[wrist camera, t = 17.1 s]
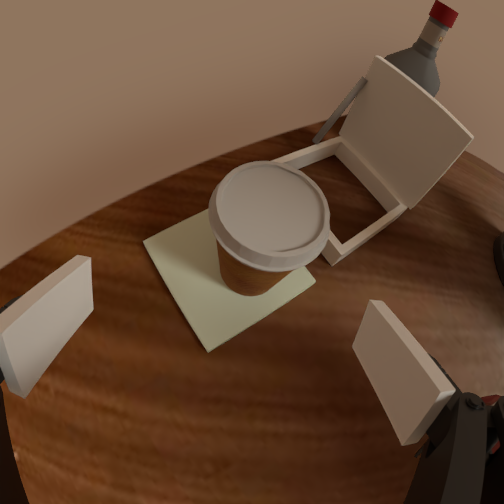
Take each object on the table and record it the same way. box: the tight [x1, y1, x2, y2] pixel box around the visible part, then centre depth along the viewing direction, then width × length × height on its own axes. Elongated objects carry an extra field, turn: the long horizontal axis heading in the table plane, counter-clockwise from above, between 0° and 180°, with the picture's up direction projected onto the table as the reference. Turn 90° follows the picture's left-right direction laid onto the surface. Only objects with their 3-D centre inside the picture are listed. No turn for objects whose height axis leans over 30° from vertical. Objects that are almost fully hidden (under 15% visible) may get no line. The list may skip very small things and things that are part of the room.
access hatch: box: [272, 56, 474, 266], centre depth 32 cm, size 16×16×18 cm
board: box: [143, 209, 316, 352], centre depth 32 cm, size 14×14×1 cm
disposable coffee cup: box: [208, 161, 330, 296], centre depth 27 cm, size 10×10×12 cm
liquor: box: [384, 0, 458, 97], centre depth 34 cm, size 9×9×30 cm
